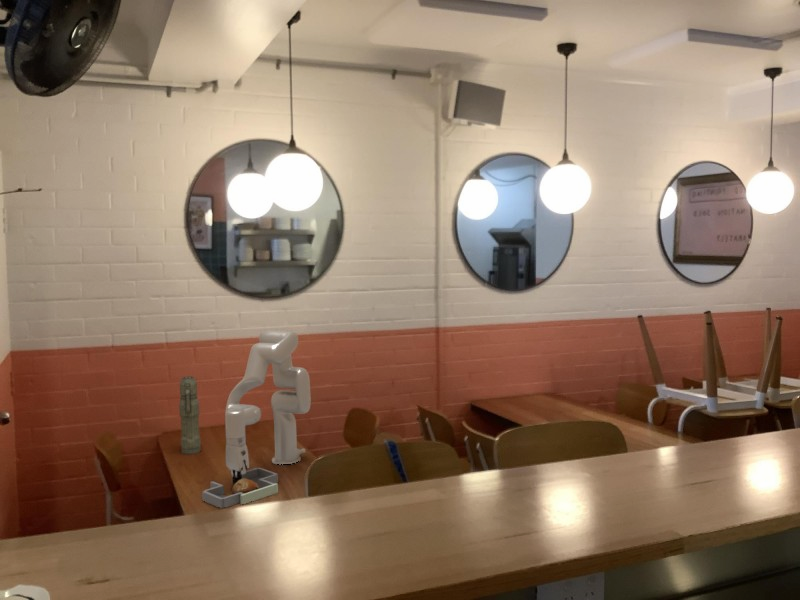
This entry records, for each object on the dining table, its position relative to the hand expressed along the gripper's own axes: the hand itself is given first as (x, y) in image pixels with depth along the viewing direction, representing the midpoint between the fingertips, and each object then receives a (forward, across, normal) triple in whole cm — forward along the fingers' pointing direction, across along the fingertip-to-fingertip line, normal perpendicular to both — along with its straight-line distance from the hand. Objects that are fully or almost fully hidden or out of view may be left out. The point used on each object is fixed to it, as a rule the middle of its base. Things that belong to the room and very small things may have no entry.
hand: (237, 486), depth 286 cm
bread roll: (+2, -7, +1) cm, 7 cm away
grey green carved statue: (+2, +59, -15) cm, 61 cm away
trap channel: (+1, -3, 0) cm, 4 cm away
